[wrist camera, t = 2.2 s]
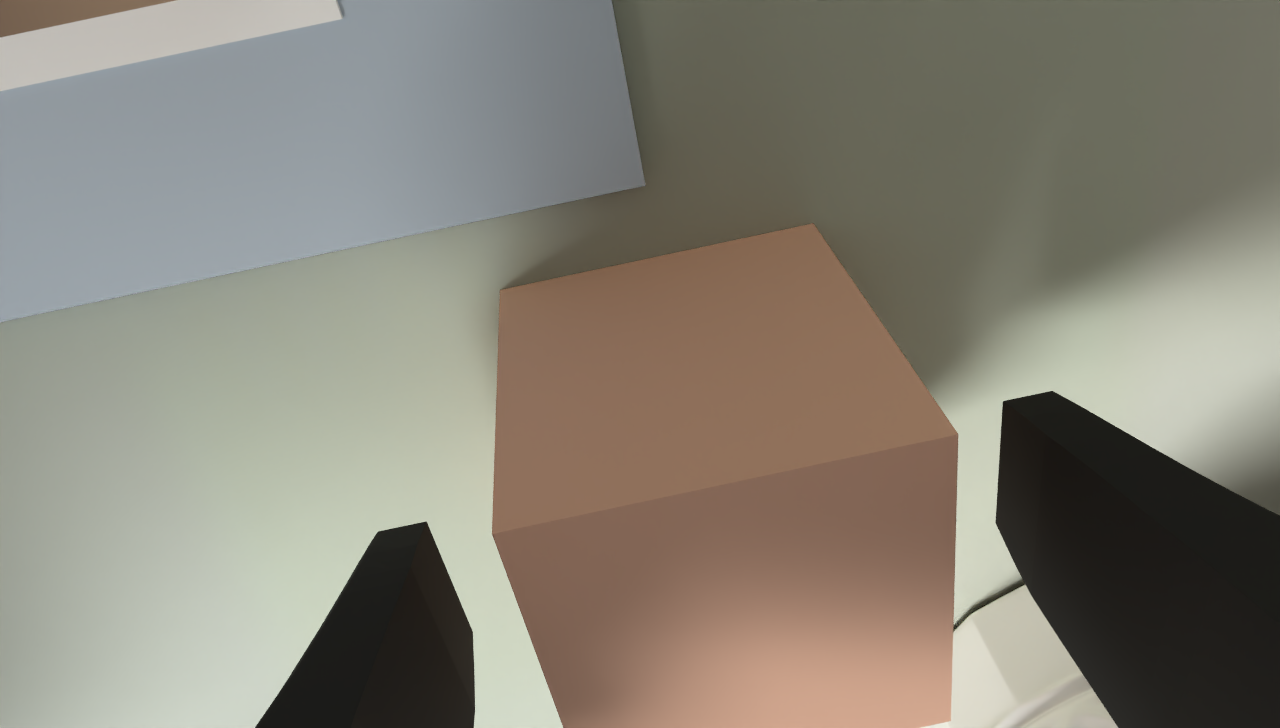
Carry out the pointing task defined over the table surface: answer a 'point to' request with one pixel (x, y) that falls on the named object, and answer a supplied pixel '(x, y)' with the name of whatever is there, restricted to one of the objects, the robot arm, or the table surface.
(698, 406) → the top block
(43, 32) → the blueprint board
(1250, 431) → the table surface
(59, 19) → the base block
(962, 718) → the white cup
